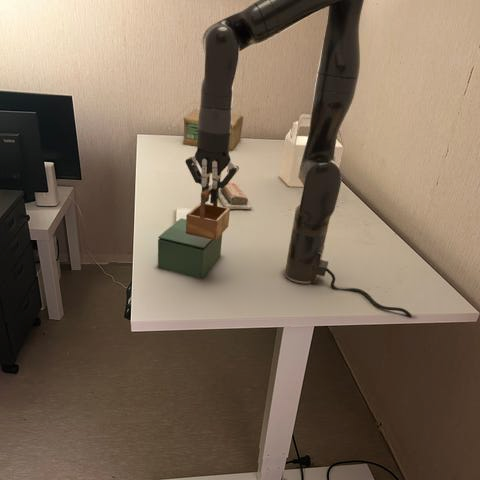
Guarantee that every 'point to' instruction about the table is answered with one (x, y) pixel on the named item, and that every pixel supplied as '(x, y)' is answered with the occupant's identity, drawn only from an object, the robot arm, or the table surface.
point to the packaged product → (233, 197)
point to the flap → (180, 224)
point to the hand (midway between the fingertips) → (209, 201)
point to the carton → (187, 252)
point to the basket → (207, 218)
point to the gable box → (300, 152)
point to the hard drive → (182, 213)
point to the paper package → (192, 129)
